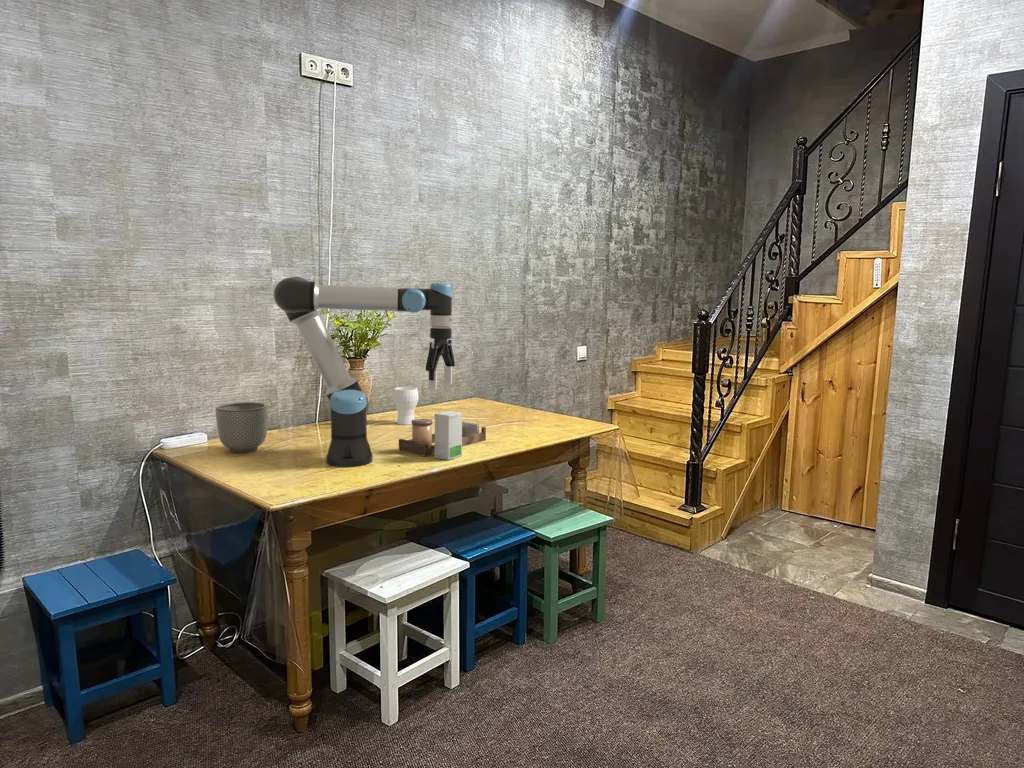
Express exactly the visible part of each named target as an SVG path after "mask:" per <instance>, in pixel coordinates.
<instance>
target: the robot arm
mask: <svg viewBox="0 0 1024 768" xmlns="http://www.w3.org/2000/svg"><path fill="white" fill-rule="evenodd" d="M452 291H453V290H452V285H451V284H450V283H443V282H442V283H441V282H438V283H437V282H436V283H435V282H434V283H433V282H432V283H430V286H429V288H415V287H414V288H411V287H402V288H396V287H375V286H374V287H373V286H350V285H329V284H325V285H323V284H319V282H318V281H310V280H307V279H306V278H303V277H300V276H291V277H287V278H283V279H281V280H280V281H278V283H277V284H276V285H275V287H274V290H273V299H274V302H275V304H276V305H277V307H278V308H279V309H281V310H282V311H284V313H285V315H286V317H287V319H288V321H289V323H291V324H294V325H295V326H296V327H297V328H298V330H299V333H300V335H301V337H302V339H303V342H304V343H305V345H306V347H307V349H308V351H309V353H310V355H311V357H312V359H313V360H314V363H315V365H316V366H317V369H318V371H319V372H320V375H321V377H322V379H323V380H324V384H325V385H326V387H327V388H326V389H327V390H326V392H325V395H326V398H327V400H328V401H329V406H330V437H331V439H330V441H329V442H330V444H329V447H328V451H327V453H326V456H325V460H326V461H325V462H326V464H328V465H330V466H332V467H333V466H334V467H339V468H340V467H342V468H345V467H346V468H347V467H348V468H349V467H350V468H351V467H359V466H364V465H367V464H370V463H372V462H373V452H372V450H371V446H370V444H369V443H370V442H369V440H368V438H367V437H368V436H367V435H368V434H367V433H368V431H367V430H368V429H367V427H368V424H367V421H368V420H367V417H368V416H367V413H368V410H369V399H368V397H367V394H366V393H365V392H364V391H363V390H362V388H361V386H360V383H359V381H358V379H357V378H353V377H352V376H351V375H350V373H349V371H348V369H347V367H346V365H345V363H344V361H343V359H342V357H341V355H340V352H339V351H338V348H337V347H336V345H335V343H334V341H333V339H332V337H331V335H330V332H329V330H328V329H327V326H326V324H325V322H324V320H323V318H322V315H321V313H322V310H324V309H325V310H327V309H328V310H329V309H331V310H354V311H356V310H357V311H380V312H381V311H383V312H384V311H385V312H386V311H387V312H407V313H412V314H413V313H419V312H421V311H429V312H430V314H429V317H430V318H429V326H430V329H429V330H430V331H429V337H430V338H431V339H433V341H429V349H428V353H427V359H426V364H425V371H426V372H428V390H434V391H435V390H437V388H438V387H437V386H438V385H437V383H438V382H437V380H438V377H437V376H438V375H437V374H438V373H437V372H438V371H437V370H436V369H437V366H438V364H439V360H440V357H442V360H443V363H444V367H443V373H444V374H443V384H444V385H452V384H453V379H452V378H453V376H452V375H453V367H455V363H456V362H455V357H454V351H453V348H452V339H451V338H452V333H453V332H452V321H453V318H452V315H453V314H452V312H453V311H452V309H453V307H452V306H453V293H452Z"/></svg>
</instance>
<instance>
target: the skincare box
mask: <svg viewBox="0 0 1024 768" xmlns="http://www.w3.org/2000/svg"><path fill="white" fill-rule="evenodd" d="M462 422H463V412H460V411H451V410H450V411H449V410H448V411H441V412H436V413H434V434H435V442H434V445H435V454H434V458H435V459H440V460H445V461H450V460H453V459H456V458H460V457H462V456H463V455H462V454H463V446H462Z"/></svg>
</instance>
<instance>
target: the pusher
mask: <svg viewBox="0 0 1024 768" xmlns="http://www.w3.org/2000/svg"><path fill="white" fill-rule="evenodd" d="M477 433H480V424H478V423H473V422H467V421H462V437H466V436H470V435H473V434H477Z"/></svg>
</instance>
